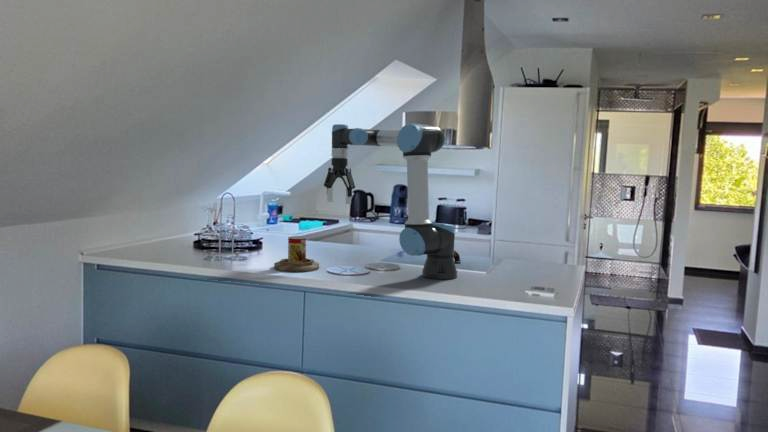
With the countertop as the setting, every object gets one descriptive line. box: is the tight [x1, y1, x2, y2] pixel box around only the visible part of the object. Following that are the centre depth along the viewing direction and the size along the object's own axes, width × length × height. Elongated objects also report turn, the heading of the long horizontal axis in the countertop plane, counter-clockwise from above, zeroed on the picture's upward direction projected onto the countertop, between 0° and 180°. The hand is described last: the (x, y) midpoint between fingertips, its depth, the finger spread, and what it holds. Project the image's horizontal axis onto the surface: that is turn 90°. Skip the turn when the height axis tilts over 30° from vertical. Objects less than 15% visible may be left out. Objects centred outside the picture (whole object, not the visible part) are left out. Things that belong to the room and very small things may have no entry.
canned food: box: [287, 235, 307, 263], centre depth 282 cm, size 8×8×12 cm
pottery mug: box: [454, 249, 462, 264], centre depth 308 cm, size 12×10×8 cm
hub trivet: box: [273, 257, 320, 273], centre depth 282 cm, size 20×20×3 cm
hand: (338, 202), depth 296 cm, fingers open, 13 cm apart
